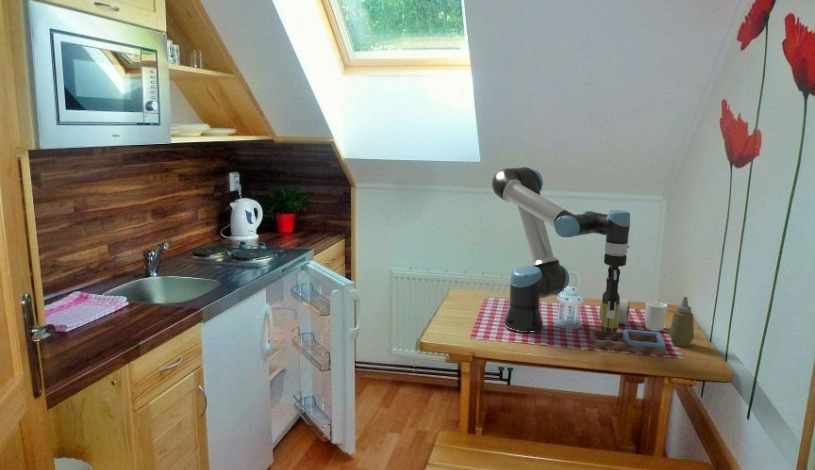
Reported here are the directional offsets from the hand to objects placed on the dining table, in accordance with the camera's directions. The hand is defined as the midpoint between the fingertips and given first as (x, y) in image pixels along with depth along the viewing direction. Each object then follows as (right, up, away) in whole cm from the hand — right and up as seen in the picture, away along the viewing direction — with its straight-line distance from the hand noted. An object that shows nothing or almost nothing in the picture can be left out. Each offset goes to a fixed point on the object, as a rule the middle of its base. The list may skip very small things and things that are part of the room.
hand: (610, 314), depth 214 cm
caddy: (+6, -11, 0) cm, 12 cm away
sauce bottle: (0, -6, +1) cm, 6 cm away
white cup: (+23, -8, +17) cm, 30 cm away
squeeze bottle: (+26, -11, +1) cm, 28 cm away
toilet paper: (+10, -7, +24) cm, 27 cm away
